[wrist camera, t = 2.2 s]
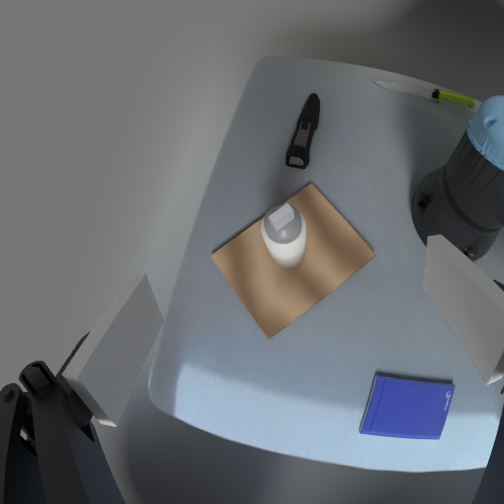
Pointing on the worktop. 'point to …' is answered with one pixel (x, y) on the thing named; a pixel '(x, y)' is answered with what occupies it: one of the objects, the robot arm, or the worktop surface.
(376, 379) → the hard drive
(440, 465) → the worktop surface
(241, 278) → the board
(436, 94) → the kitchen knife
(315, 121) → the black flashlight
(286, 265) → the white bottle
